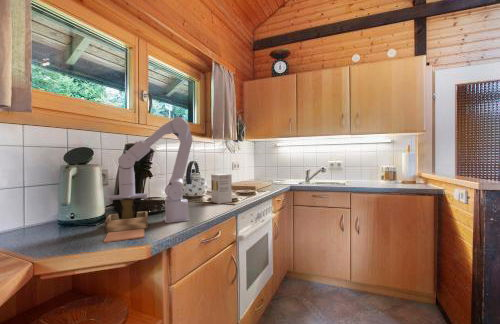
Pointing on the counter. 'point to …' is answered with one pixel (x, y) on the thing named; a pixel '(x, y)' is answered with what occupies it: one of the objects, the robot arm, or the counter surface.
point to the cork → (127, 209)
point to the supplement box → (221, 188)
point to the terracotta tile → (124, 235)
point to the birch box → (126, 222)
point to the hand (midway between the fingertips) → (128, 217)
